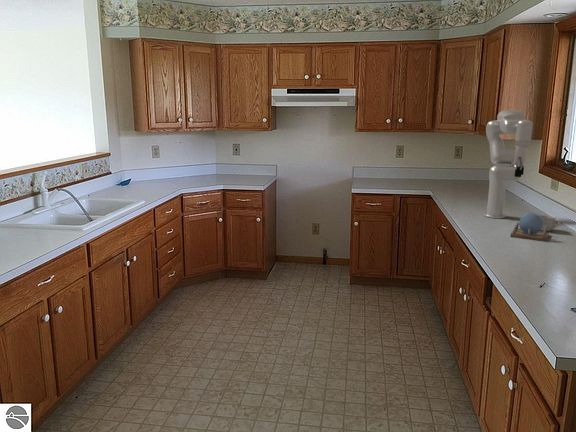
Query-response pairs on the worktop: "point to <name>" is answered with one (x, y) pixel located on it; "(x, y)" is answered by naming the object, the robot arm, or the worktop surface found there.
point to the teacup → (549, 222)
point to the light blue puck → (530, 223)
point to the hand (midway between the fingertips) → (518, 175)
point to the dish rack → (540, 235)
